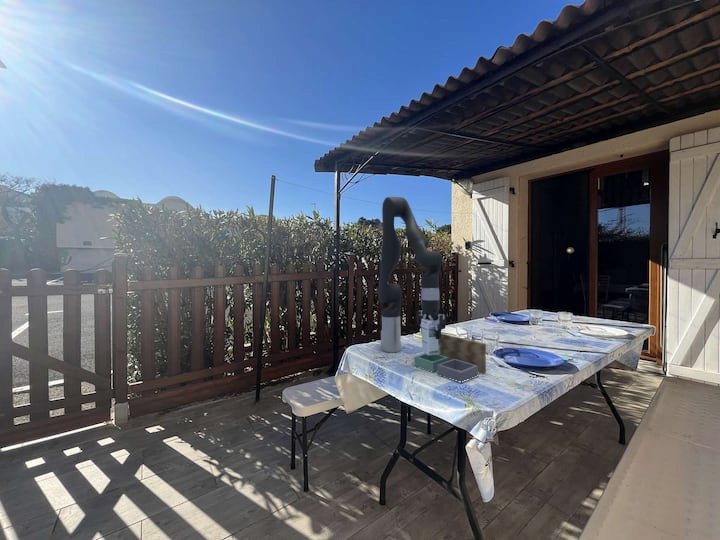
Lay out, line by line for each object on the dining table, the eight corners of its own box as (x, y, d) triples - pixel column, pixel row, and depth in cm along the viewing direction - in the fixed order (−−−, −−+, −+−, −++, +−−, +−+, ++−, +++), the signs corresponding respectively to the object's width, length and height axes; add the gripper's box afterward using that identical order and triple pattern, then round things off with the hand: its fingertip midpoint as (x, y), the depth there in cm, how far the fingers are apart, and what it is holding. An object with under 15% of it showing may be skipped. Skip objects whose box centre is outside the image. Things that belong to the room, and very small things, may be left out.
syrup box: (428, 355, 129) (427, 320, 128) (421, 351, 134) (421, 318, 134) (440, 354, 130) (440, 319, 129) (433, 350, 136) (433, 317, 135)
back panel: (433, 358, 142) (433, 332, 142) (435, 357, 143) (435, 331, 143) (483, 374, 122) (483, 344, 122) (485, 373, 123) (485, 343, 123)
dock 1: (414, 365, 134) (414, 356, 133) (430, 360, 140) (429, 351, 139) (432, 372, 126) (432, 362, 125) (448, 366, 132) (448, 357, 131)
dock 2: (437, 374, 123) (437, 364, 123) (454, 368, 130) (454, 358, 130) (461, 383, 114) (461, 372, 114) (478, 375, 121) (478, 365, 121)
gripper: (411, 297, 135) (412, 335, 135) (438, 300, 123) (438, 342, 124) (423, 295, 139) (423, 332, 140) (450, 298, 128) (450, 338, 128)
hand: (430, 337), depth 132 cm, fingers closed on syrup box, 7 cm apart
